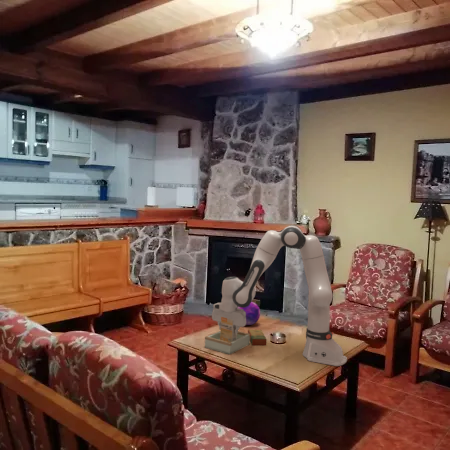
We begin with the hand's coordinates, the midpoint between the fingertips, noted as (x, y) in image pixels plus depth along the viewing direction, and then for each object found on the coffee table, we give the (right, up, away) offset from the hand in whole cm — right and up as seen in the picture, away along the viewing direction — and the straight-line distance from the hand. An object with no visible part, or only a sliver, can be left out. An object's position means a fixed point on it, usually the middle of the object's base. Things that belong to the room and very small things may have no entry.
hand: (228, 331), depth 240 cm
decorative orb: (+13, -6, +40) cm, 42 cm away
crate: (0, -8, +1) cm, 8 cm away
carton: (+16, -8, +11) cm, 21 cm away
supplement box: (0, -5, +1) cm, 5 cm away
